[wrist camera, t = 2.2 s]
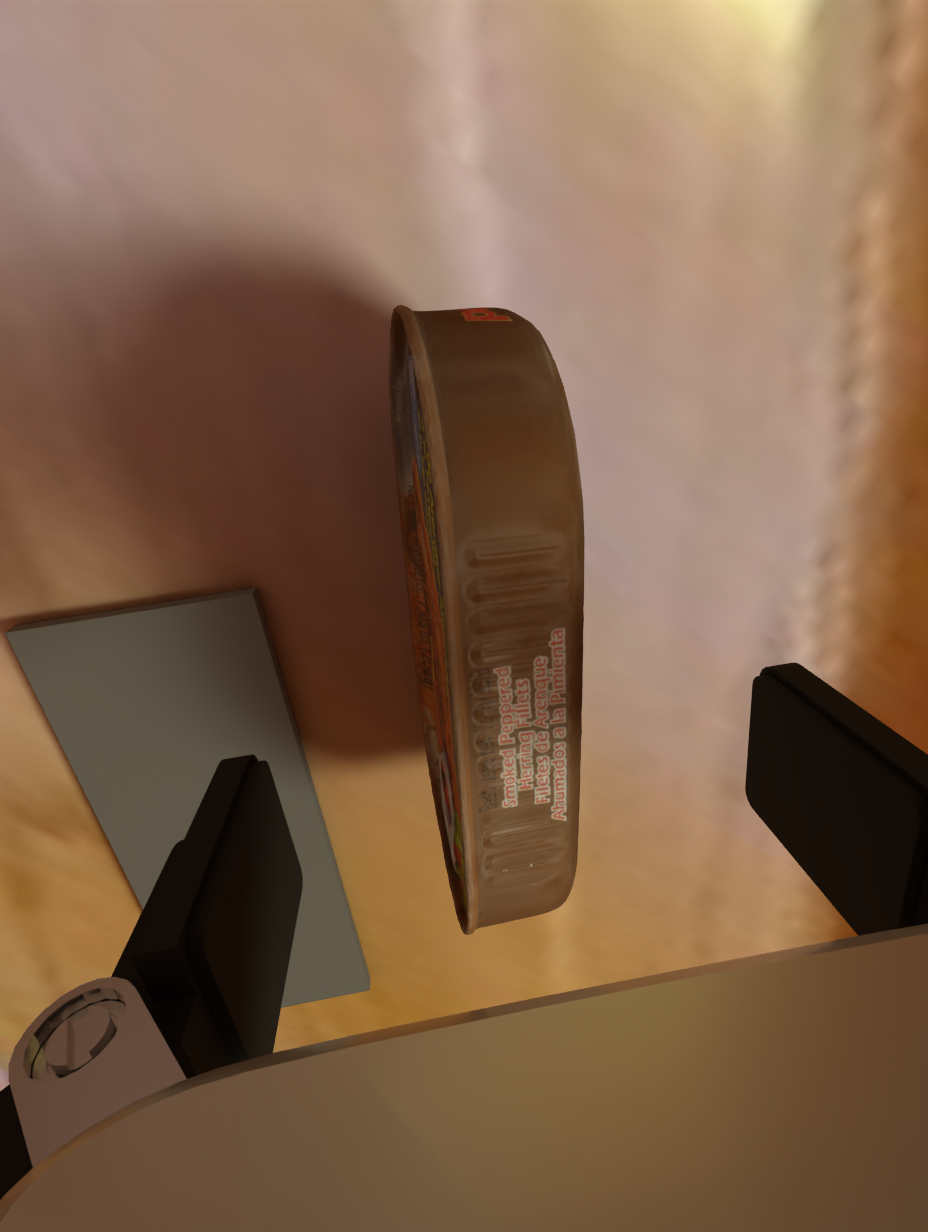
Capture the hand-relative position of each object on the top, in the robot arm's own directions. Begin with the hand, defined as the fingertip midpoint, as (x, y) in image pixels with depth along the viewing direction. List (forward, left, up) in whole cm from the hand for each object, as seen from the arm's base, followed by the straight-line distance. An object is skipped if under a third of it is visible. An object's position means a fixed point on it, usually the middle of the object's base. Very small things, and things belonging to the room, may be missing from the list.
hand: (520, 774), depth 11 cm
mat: (+7, -10, -8) cm, 15 cm away
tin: (-1, 0, -9) cm, 9 cm away
